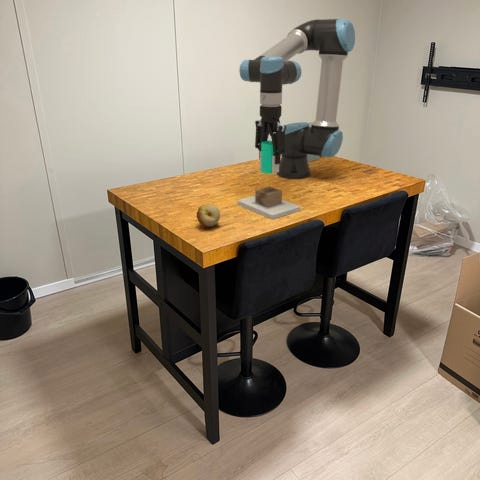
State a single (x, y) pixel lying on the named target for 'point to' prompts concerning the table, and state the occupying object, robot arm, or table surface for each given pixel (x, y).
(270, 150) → the candle
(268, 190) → the walnut block
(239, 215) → the table surface
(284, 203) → the slab
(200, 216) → the fruit
